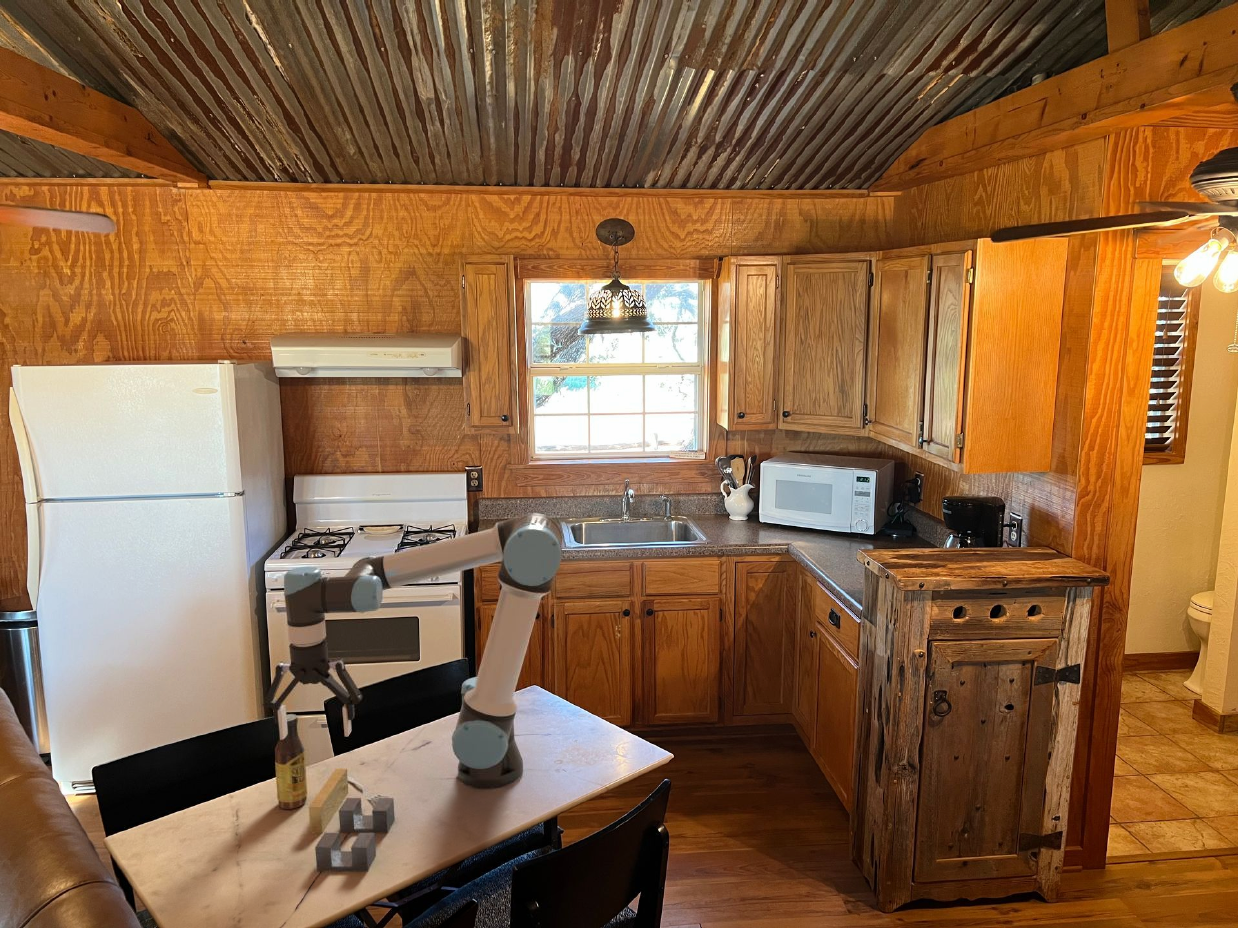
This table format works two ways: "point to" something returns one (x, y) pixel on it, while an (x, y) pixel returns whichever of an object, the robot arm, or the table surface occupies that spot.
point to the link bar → (328, 801)
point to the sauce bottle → (291, 768)
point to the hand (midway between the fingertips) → (316, 735)
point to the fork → (366, 790)
